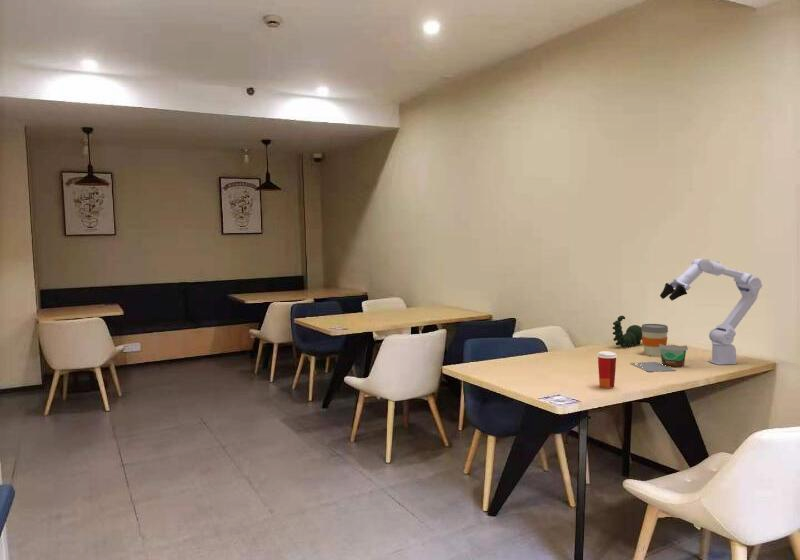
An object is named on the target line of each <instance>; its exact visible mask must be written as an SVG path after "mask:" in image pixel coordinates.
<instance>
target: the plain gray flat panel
mask: <svg viewBox="0 0 800 560" xmlns="http://www.w3.org/2000/svg"><path fill="white" fill-rule="evenodd" d="M630 363H631V364H630V365H632V364H633V365H632V366H634V365H635V363H636V362H630ZM637 363H638V364H637V365H638V366H637V365H636V366H637V367H636V366H635V367H636V368H638V367H640V368H642V367H643V368H642V369H641V370H643V369H644V370H643V371H645V370H646V371H645V372H647V371H648V372H647V373H653V372H652V371H662V372H676V371H677V370H676V369H674V368H673V367H668V366H665V365H662V363H659V362H656V361H646V362H645V361H642V362H637ZM641 364H642V365H641ZM640 365H641V366H640ZM640 368H639V369H640Z"/></svg>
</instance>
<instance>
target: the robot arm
mask: <svg viewBox="0 0 800 560" xmlns="http://www.w3.org/2000/svg"><path fill="white" fill-rule="evenodd" d="M702 273H706V274H710V275H714V276H717V277H718V276H721V275H723V276H726V277H729V278H733V282H735V286H736V288H737V289H738V291H739V292H740V294H741V298H740V299H739V301H738V302H737V303H736V304H735V306H734V308H733V309H732V310H731V311H730V313H729V314H728V315H727V317H726V318H725V320H724V321H723V322H722V323H720V324H718V325H716V327H715V328H713V329H712V330H710V332H709V333H708V338H709V340H710V341H711V345H712V346H711V350H712V351H711V359H709V360H707V361H708V362H709V363H712V364H715V365H718V366H719V365H720V366H721V365H724V366H725V365H737V364H738V363H737V349H736V347H735V345H734V344H732V343H733V342H734V340H735V339H734V338H735V336H736V335H737V333H736V331H735V330H736V328H737V326H738V325H739V324H740V323H741V321H742V320H743V318H744V317H745V316H746V314H747V313H748V311H749V310H750V309H751V308H752V306H753V305H754V304H755V302H756V301H757V299H758V295H759V293H760V290H761V289H762V287H763V284H762V281H761V278H760V277H759V276H755V275H753V274H750V273H748V272H744V271H739V270H737V269H731V268H727V267H724V265H723V264H722V263H721V262H720V261H711V260H710V259H708V258H707V259H706V258H695V259H693V260H692V261H691V263H690V266H689V267H688V268H686V270H684V272H682V273H681V275H680V276H678V277H677V278H672V281H671V282H670V281H669V282H666V283H665V284H664V288H663V290H662V291H661V293H660V294H659V296H660V298H661V299H662V300H664V299H665V298H667V297H668V299H670V301H671V302H672V301H675V300H676V299H678V298H679V297H682V296H685V295H687V294H688V292H687V291H689V290H690V289H691V286H690V285H691V284H692V283H693V282H694V281H696V280H697V279H698V277H699V276H700V275H701V274H702Z"/></svg>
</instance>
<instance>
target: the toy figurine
mask: <svg viewBox="0 0 800 560" xmlns="http://www.w3.org/2000/svg"><path fill="white" fill-rule="evenodd" d="M623 320H626V316H625V315H620V316H618V317H617V319H616V320H615V321H613V322H612V324H613V327H612V330H614V331H613V332H612V335H615V336H614V337H613V341H614V342H615V345H616V346H618V347H619V346H620V347H627V348H629V347H630V348H631V347H632V346H634V347H635V346H637V345H636V344H638V345H640V344H641V343H642V331H641V328H642V326H640V325H638V324H632V325H630V326H628V327H627V329H626V331H625V333H624V331H623V330H622V329H623V326H622V323H621V322H622V321H623Z"/></svg>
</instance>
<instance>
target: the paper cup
mask: <svg viewBox="0 0 800 560" xmlns="http://www.w3.org/2000/svg"><path fill="white" fill-rule="evenodd" d="M596 357H597V362H598V363H597V364H598V383H599V387H600V388H602V387H603V388H602V389H614V388H615V380H616V367H617V366H616V365H617V358H618V356H617V353H616V352H613V351H606V350H605V351H598V353H597V355H596ZM613 387H614V388H613Z"/></svg>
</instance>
